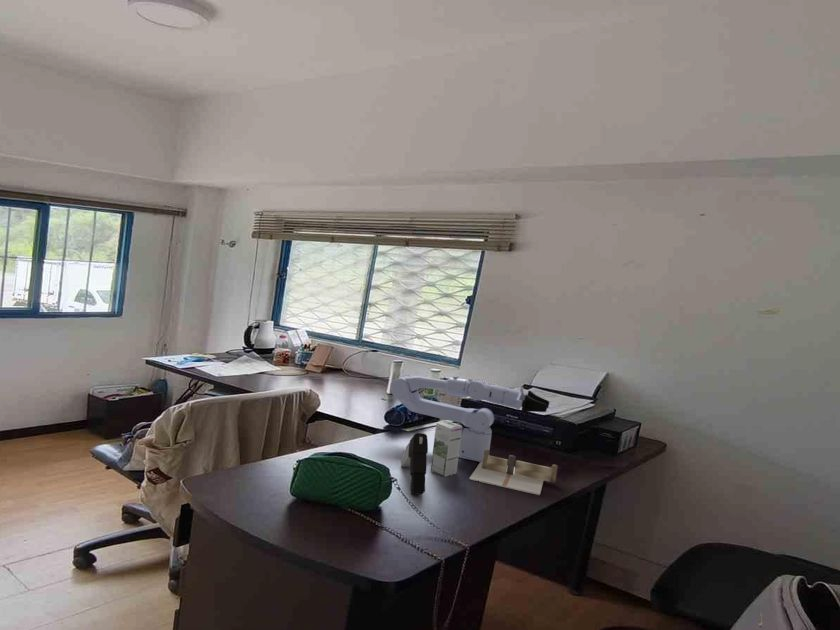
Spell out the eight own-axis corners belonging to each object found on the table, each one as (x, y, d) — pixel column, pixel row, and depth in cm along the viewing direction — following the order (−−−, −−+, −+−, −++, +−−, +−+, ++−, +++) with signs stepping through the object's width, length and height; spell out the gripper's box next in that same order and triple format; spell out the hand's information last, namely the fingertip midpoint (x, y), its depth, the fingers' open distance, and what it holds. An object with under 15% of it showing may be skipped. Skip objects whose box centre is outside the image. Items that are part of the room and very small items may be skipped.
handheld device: (411, 490, 145) (414, 431, 151) (397, 502, 164) (400, 449, 171) (426, 491, 145) (428, 432, 152) (411, 503, 165) (413, 450, 171)
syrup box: (457, 474, 168) (463, 425, 167) (444, 477, 164) (450, 427, 163) (442, 467, 172) (448, 420, 171) (429, 471, 168) (435, 422, 167)
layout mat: (469, 479, 165) (469, 477, 165) (481, 461, 184) (482, 459, 184) (539, 495, 159) (540, 493, 159) (545, 474, 178) (545, 473, 178)
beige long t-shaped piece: (513, 474, 172) (516, 458, 172) (514, 472, 174) (516, 456, 174) (555, 483, 169) (557, 466, 169) (555, 481, 170) (557, 465, 170)
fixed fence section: (481, 468, 175) (483, 451, 175) (482, 466, 177) (484, 449, 176) (512, 475, 172) (515, 457, 172) (513, 473, 174) (516, 456, 174)
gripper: (503, 386, 176) (548, 397, 172) (510, 381, 190) (552, 391, 186) (499, 409, 176) (543, 420, 173) (506, 402, 190) (547, 412, 186)
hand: (547, 406), depth 179 cm, fingers open, 7 cm apart
